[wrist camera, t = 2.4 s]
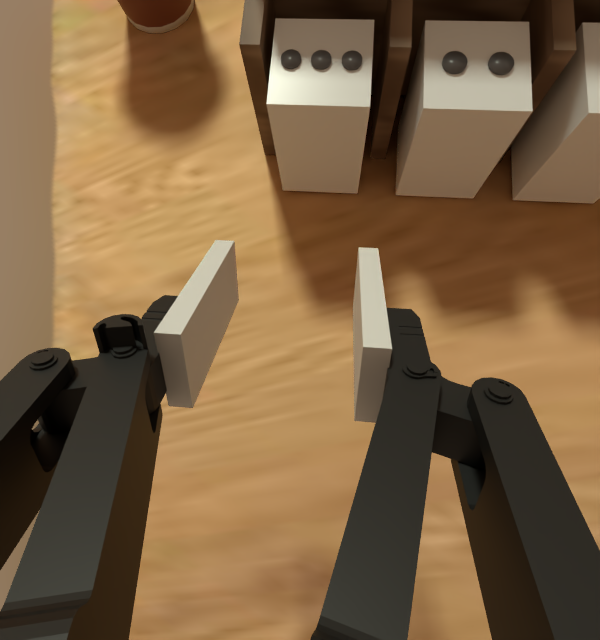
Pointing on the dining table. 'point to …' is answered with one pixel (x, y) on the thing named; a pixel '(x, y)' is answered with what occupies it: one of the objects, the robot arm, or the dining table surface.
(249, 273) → the dining table surface
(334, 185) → the key three
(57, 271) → the dining table surface
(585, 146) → the key one
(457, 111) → the key two
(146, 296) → the dining table surface
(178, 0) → the coffee cup
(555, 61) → the brown slotted rack
